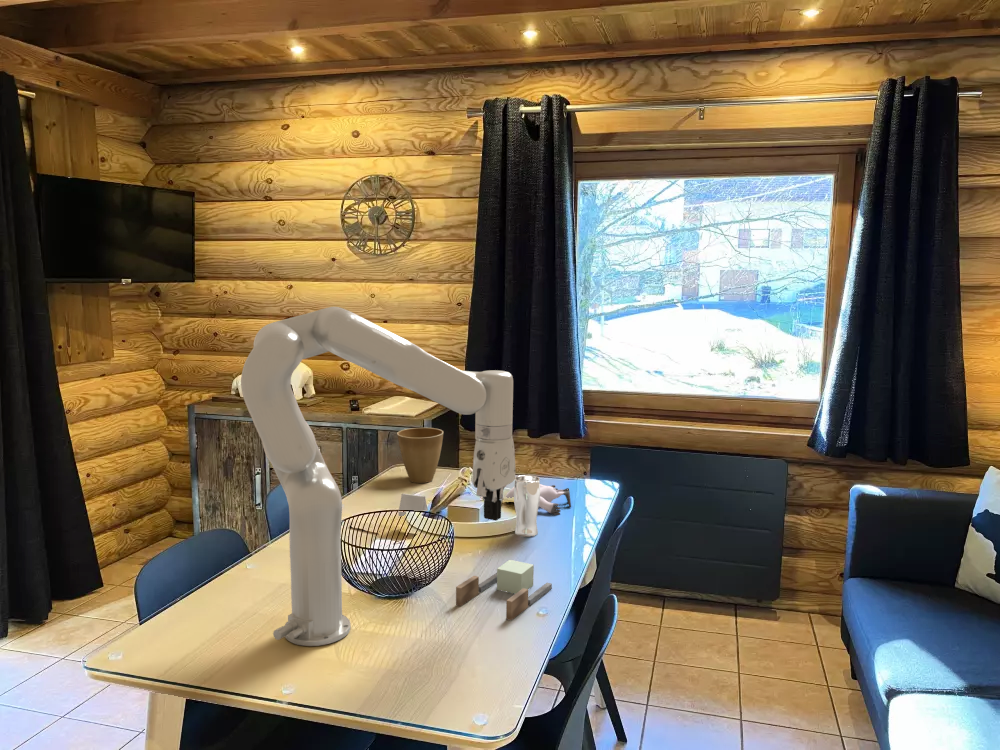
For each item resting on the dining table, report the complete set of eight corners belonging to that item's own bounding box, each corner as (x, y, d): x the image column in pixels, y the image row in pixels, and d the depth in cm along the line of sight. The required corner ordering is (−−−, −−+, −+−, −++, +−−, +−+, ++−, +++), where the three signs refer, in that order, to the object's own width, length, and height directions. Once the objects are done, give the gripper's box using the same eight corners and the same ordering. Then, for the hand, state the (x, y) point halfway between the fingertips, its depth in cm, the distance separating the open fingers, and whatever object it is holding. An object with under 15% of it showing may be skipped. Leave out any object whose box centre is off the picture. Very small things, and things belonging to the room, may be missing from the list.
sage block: (521, 595, 170) (521, 574, 170) (496, 590, 173) (497, 568, 172) (533, 586, 176) (533, 564, 175) (509, 580, 178) (509, 559, 178)
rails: (530, 605, 165) (530, 600, 165) (476, 591, 172) (476, 586, 172) (551, 588, 174) (551, 583, 174) (499, 575, 180) (499, 570, 180)
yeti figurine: (574, 502, 242) (510, 497, 245) (575, 480, 241) (511, 476, 245) (568, 517, 222) (498, 511, 226) (569, 494, 222) (499, 488, 225)
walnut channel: (511, 620, 158) (511, 601, 158) (455, 604, 165) (456, 586, 165) (527, 607, 164) (528, 589, 164) (473, 593, 171) (474, 575, 171)
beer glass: (544, 531, 210) (545, 477, 207) (531, 539, 204) (532, 483, 202) (521, 526, 213) (522, 473, 211) (508, 534, 207) (508, 479, 205)
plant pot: (430, 471, 267) (430, 425, 264) (451, 482, 254) (451, 434, 252) (390, 477, 259) (389, 430, 256) (409, 489, 246) (409, 439, 244)
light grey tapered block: (421, 535, 206) (421, 498, 204) (398, 532, 208) (398, 495, 207) (427, 530, 209) (427, 494, 208) (405, 527, 212) (404, 491, 210)
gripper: (490, 441, 151) (488, 532, 154) (527, 427, 164) (525, 512, 167) (457, 436, 155) (457, 525, 158) (496, 423, 168) (495, 505, 171)
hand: (492, 518), depth 162 cm, fingers closed
